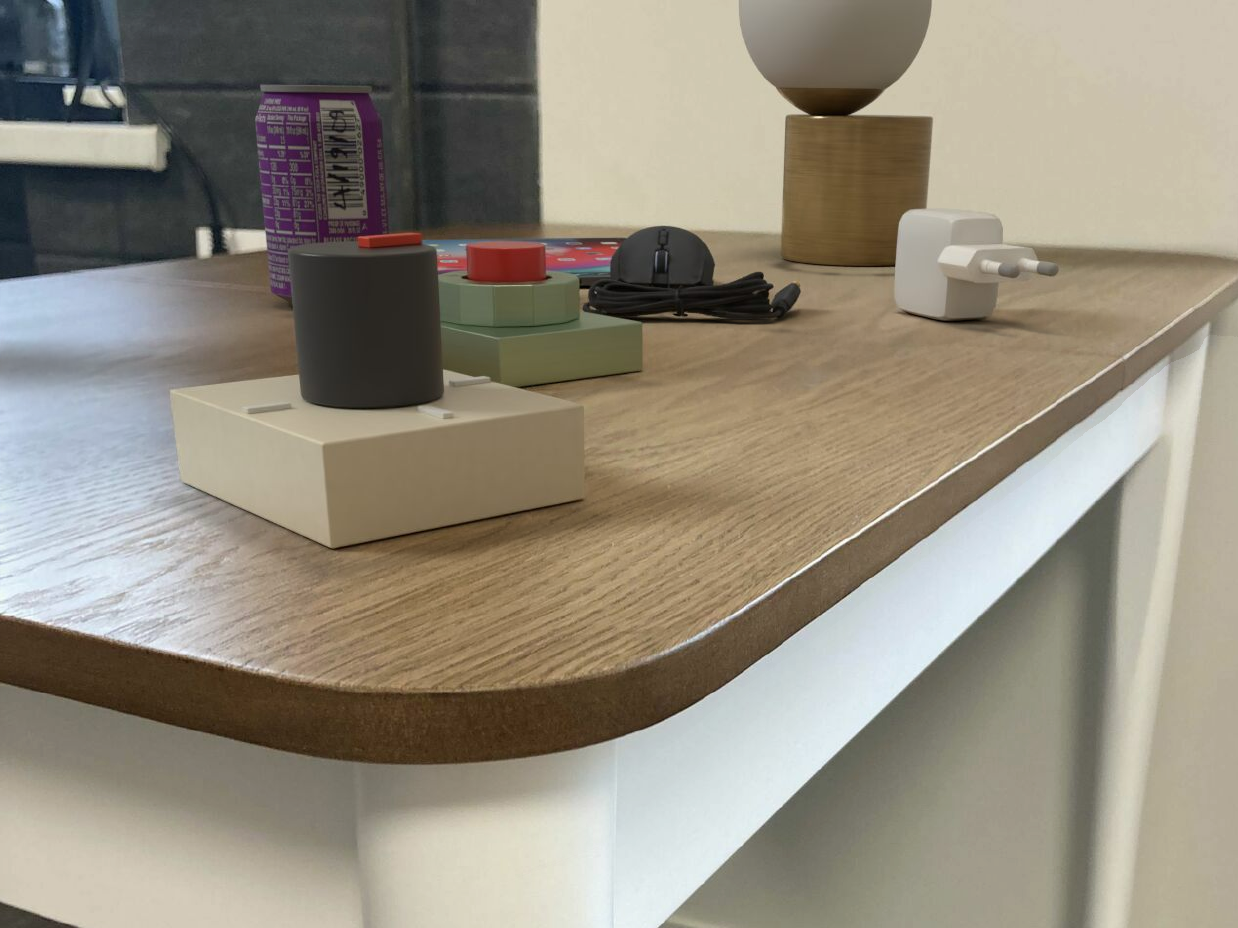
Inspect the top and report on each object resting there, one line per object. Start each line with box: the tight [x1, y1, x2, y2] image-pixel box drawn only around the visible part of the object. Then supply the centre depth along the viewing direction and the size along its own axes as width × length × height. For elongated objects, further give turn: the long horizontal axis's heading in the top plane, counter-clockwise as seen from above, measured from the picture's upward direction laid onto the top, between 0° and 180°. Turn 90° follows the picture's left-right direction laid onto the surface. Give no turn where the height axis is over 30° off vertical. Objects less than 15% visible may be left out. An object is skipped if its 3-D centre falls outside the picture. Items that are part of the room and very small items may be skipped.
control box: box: [169, 369, 586, 549], centre depth 47 cm, size 10×9×3 cm
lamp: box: [738, 0, 934, 267], centre depth 111 cm, size 15×14×25 cm
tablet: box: [422, 237, 628, 287], centre depth 108 cm, size 19×25×1 cm
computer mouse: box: [581, 225, 802, 320], centre depth 89 cm, size 12×18×4 cm
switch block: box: [438, 270, 643, 388], centre depth 69 cm, size 10×8×4 cm
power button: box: [466, 241, 546, 282], centre depth 68 cm, size 4×4×2 cm
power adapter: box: [893, 207, 1060, 322], centre depth 83 cm, size 11×5×6 cm, turn 25°
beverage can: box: [254, 84, 390, 306], centre depth 86 cm, size 7×7×12 cm
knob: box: [288, 232, 444, 408], centre depth 45 cm, size 4×4×5 cm
